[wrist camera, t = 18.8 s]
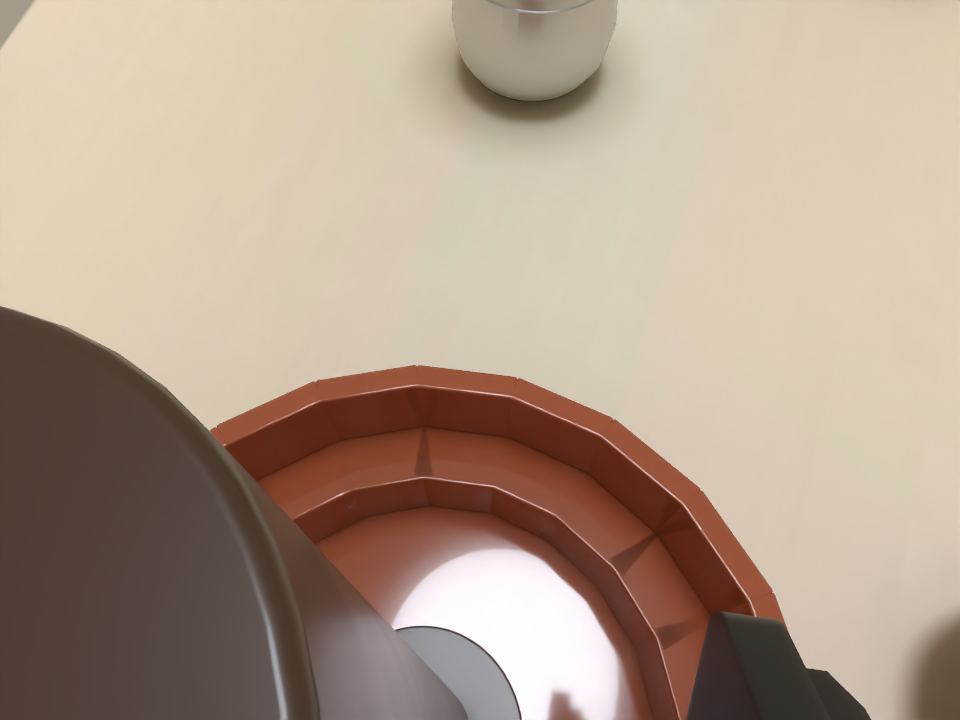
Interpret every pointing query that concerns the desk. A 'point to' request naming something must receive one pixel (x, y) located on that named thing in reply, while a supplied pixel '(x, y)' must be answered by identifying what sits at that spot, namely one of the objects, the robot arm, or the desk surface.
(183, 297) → the desk surface
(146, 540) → the dark brown pestle
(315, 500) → the bowl
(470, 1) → the plastic bottle
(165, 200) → the desk surface
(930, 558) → the desk surface
